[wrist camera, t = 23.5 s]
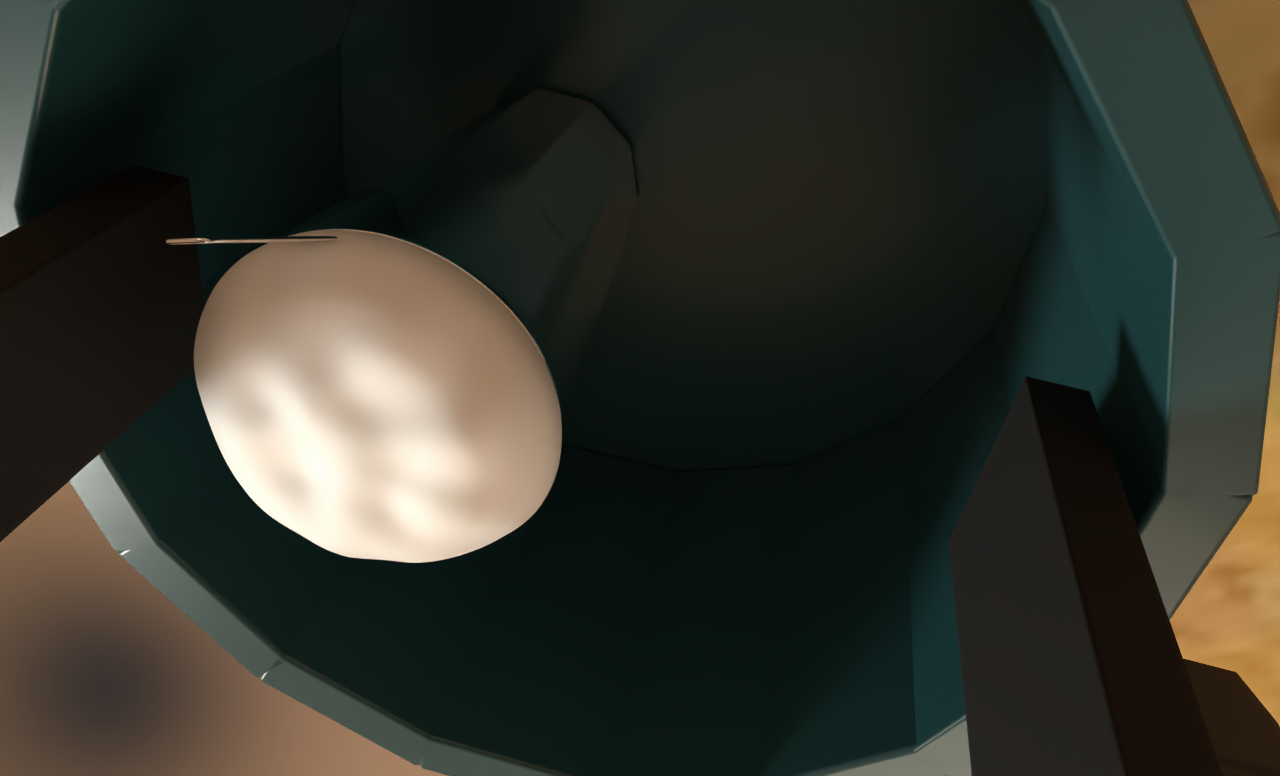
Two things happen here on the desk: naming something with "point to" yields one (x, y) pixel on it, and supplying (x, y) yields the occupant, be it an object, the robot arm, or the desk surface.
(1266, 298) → the tin
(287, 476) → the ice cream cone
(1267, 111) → the desk surface
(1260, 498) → the desk surface
